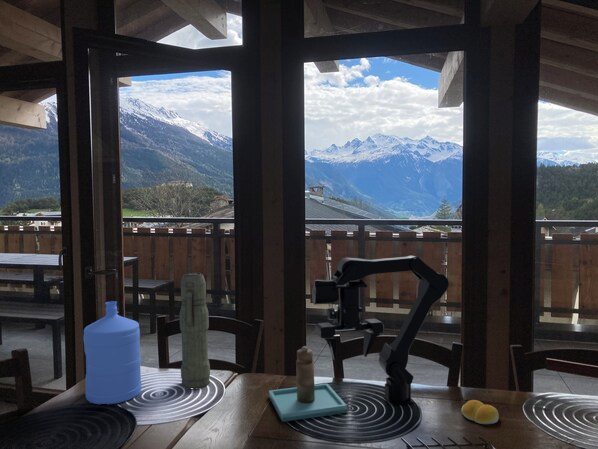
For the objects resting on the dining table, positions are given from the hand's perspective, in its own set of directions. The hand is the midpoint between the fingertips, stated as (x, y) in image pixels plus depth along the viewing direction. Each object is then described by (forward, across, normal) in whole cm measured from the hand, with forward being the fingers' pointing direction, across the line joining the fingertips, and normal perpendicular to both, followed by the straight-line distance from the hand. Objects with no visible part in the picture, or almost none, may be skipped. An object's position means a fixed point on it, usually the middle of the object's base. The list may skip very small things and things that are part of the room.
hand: (349, 358), depth 133 cm
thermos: (+13, +41, -28) cm, 51 cm away
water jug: (+14, +65, -27) cm, 72 cm away
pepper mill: (+12, +12, -4) cm, 17 cm away
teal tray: (+13, +12, -3) cm, 18 cm away
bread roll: (+13, -30, +18) cm, 37 cm away
